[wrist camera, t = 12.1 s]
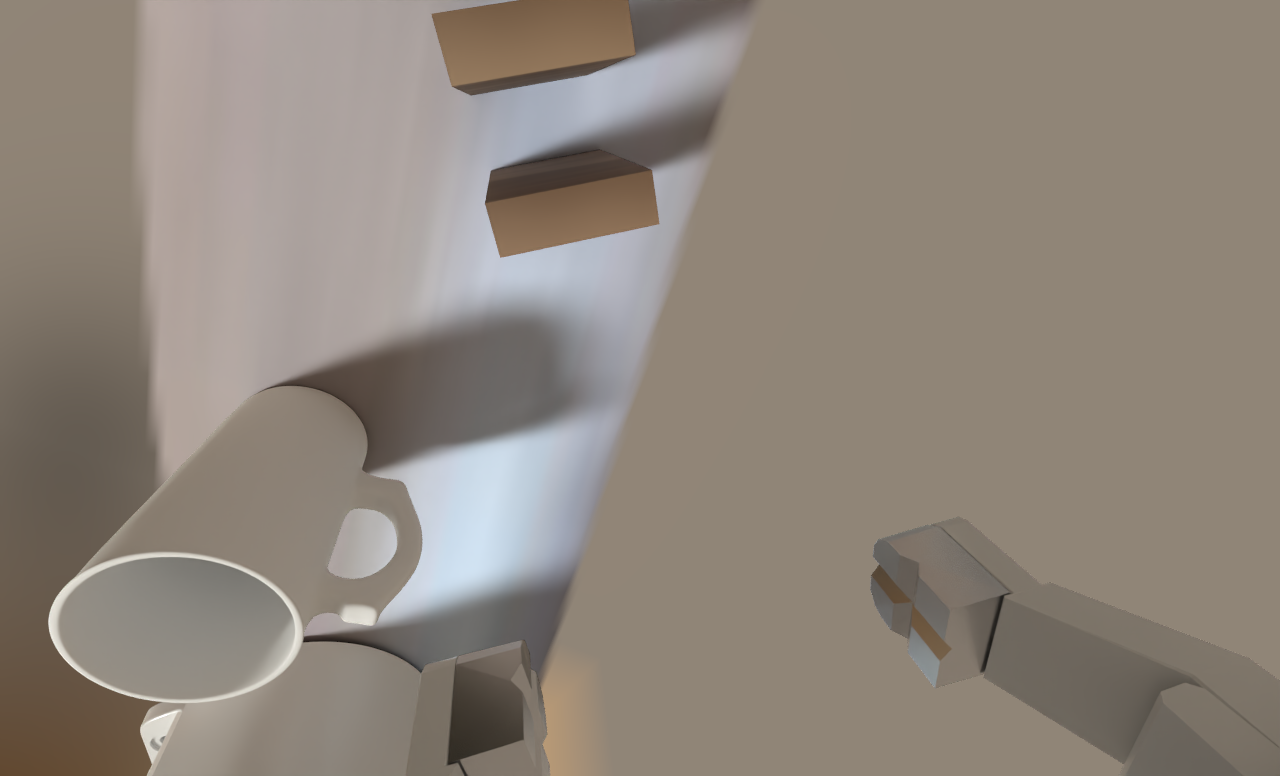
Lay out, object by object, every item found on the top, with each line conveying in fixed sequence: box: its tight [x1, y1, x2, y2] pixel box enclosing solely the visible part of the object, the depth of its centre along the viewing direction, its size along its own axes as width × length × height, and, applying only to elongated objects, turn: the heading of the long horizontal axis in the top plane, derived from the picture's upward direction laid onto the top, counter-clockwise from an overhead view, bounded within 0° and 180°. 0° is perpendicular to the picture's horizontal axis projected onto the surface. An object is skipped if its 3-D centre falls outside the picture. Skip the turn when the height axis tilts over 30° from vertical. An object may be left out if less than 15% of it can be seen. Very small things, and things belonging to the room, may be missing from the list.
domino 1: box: [432, 0, 636, 95], centre depth 19 cm, size 2×5×10 cm, turn 99°
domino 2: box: [485, 150, 659, 258], centre depth 21 cm, size 2×5×10 cm, turn 98°
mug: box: [49, 386, 422, 703], centre depth 23 cm, size 10×7×12 cm, turn 69°
